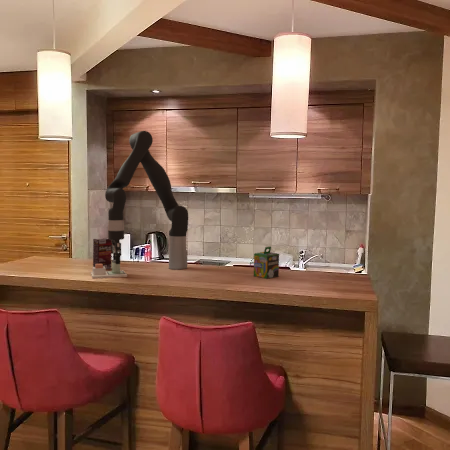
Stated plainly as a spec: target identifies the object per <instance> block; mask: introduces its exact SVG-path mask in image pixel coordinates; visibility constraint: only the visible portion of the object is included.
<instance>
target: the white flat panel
mask: <svg viewBox="0 0 450 450" xmlns="http://www.w3.org/2000/svg"><path fill="white" fill-rule="evenodd" d="M90 276H91V278H92V279H109V278H127V277H128V274H127V273H126V272H125V270H123V269H122V270H120V273H112V270H106V275H93V271H90Z"/></svg>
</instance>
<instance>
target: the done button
mask: <svg viewBox="0 0 450 450" xmlns="http://www.w3.org/2000/svg"><path fill="white" fill-rule="evenodd" d="M95 268H103V264H95Z"/></svg>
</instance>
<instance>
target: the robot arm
mask: <svg viewBox="0 0 450 450" xmlns="http://www.w3.org/2000/svg"><path fill="white" fill-rule="evenodd" d="M128 139H129V140H128V141H129V146H130V147H131V150H132V151H131V152H130V154H129V155H128V157H127V158H126V160H125V161H124V162H123V164H122V165H120V166H121V167H120V168H119V170H118V172H117V174H116V177H115V178H114V180H113V181H111V183H110V184H109V185H108V186H107V188H106V190H105V194H104V197H105V198H104V199H105V200H106V201H107V202H109V203H112V204H113V205H112V207H110V208H109V209H108V213H107V215H108V217H107V218H108V220H107V221H108V222H107V238H108V239H110V240H111V241H112V242H111V254H112V258H113V259H112V260H115V262H116V264H120V265H121V256H122V243H121V242H120V240H124V239H125V222H124V210H125V208H126V207H125V206H126V202H127V193H126V191H125V190H124V188H127V187H128V186H129V185H130V183H131V180H132V179H133V177H134V174H135V173H136V170H137V169H138V166H140V164H141V166H142V169H144V172H145V173H146V175H147V178H148V179H149V182H150V183H151V185H152V187H153V189H154V190H155V193H156V194H157V196H158V198H159V200H160V201H161V202H160V203H161V204H162V207H163V209H164V212H165V214H166V216H167V218H168V219H169V221H170V222H171V228H170V230H169V231H168V269H170V270H184V269H188V250H187V233H188V231H189V212H188V209H187V208H186V207H185V206H182V205H179V204H178V202H177V200H176V198H175V197H174V194H173V190H172V189H173V188H172V184H171V181H170V178H169V176H168V174H167V172H166V170H165V168H164V167H163V166H162V165H161V164H160V163H159V162H158V161H157V160H156V158H154V157H153V156H152V153H151V152H150V150H149V149H150V148H151V146H152V144H153V139H154V138H153V136H152V134H151V132H149V131H147V130H141V131H138V132H137V131H136V132H134V133H132V134H131V135H130V136H129V138H128Z"/></svg>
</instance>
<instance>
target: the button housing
mask: <svg viewBox="0 0 450 450" xmlns="http://www.w3.org/2000/svg"><path fill="white" fill-rule="evenodd" d="M106 271H107V269H106V268H105V266H103V268H95V267H93V266H92V272H93V275H106Z"/></svg>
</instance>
